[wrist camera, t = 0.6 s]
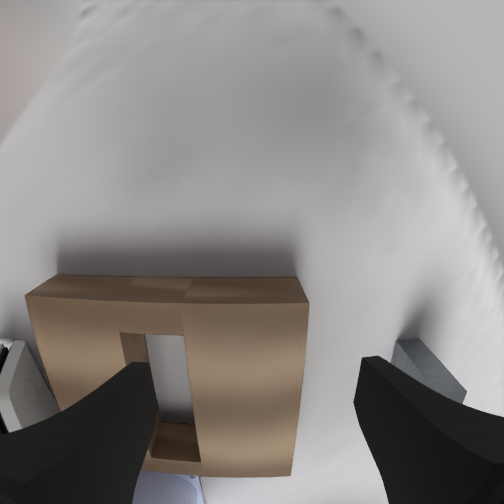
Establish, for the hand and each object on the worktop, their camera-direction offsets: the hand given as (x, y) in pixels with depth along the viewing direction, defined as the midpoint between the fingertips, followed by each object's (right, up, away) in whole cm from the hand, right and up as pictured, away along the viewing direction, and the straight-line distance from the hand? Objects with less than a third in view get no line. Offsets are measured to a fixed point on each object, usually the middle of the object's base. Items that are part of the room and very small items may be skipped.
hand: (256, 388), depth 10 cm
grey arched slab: (-18, -10, +13) cm, 24 cm away
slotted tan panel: (-5, -4, +11) cm, 13 cm away
